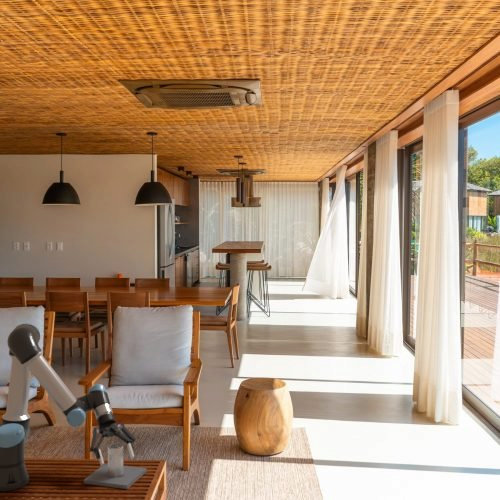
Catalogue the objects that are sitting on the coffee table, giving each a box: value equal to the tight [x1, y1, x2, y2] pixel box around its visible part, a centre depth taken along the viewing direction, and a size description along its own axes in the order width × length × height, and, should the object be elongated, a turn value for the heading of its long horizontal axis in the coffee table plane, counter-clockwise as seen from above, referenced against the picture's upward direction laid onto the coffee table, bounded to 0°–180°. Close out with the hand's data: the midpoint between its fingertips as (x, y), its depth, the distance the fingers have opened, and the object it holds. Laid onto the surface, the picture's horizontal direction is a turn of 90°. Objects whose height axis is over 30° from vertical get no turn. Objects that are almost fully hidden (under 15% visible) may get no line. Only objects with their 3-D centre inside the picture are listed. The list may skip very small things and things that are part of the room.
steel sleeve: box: [107, 443, 124, 477], centre depth 242 cm, size 6×6×12 cm
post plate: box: [83, 463, 148, 490], centre depth 242 cm, size 20×18×10 cm
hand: (117, 461), depth 240 cm, fingers open, 13 cm apart
